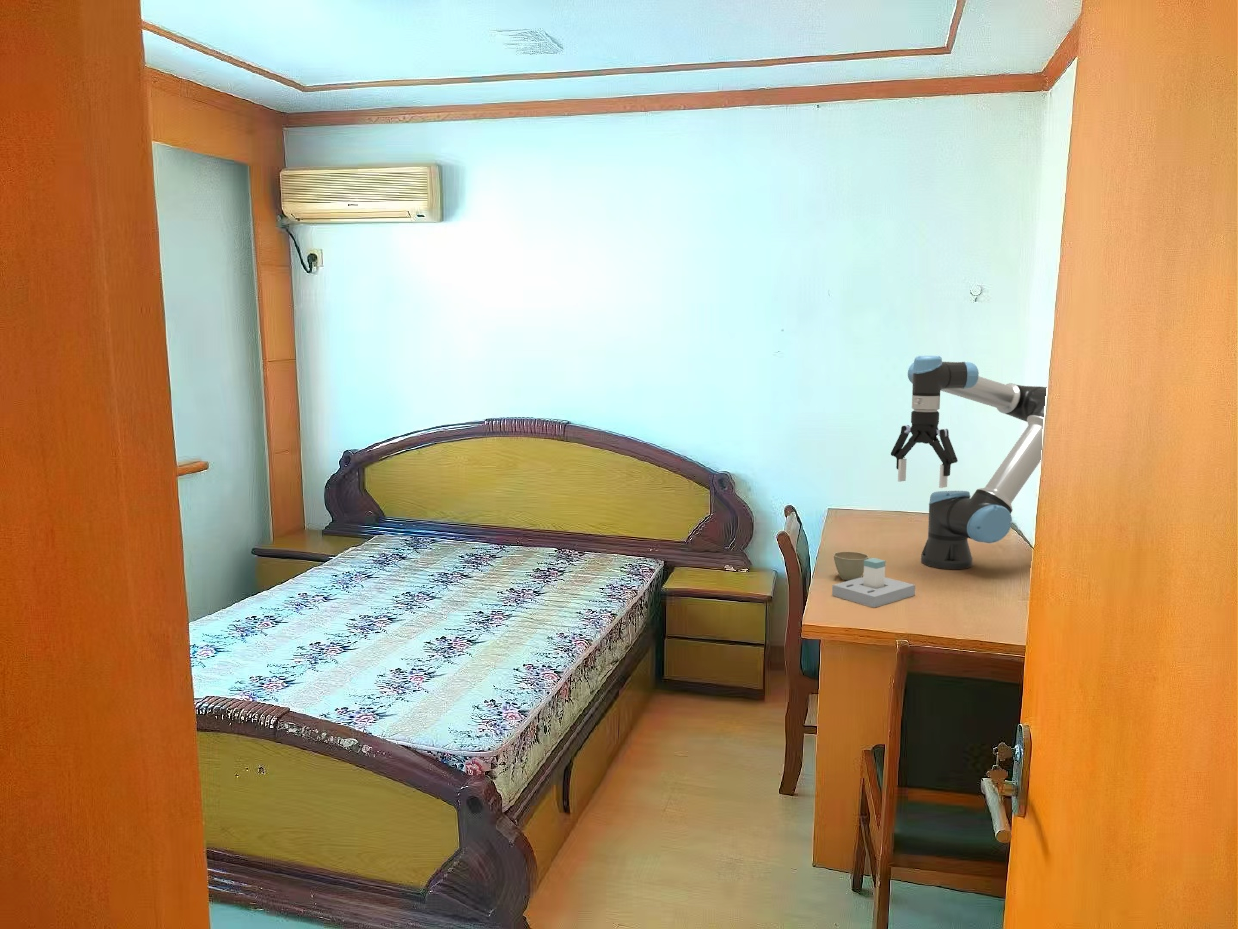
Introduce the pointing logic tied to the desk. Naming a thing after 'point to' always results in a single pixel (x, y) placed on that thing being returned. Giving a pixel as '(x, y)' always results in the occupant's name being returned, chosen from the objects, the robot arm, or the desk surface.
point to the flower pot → (850, 564)
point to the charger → (874, 573)
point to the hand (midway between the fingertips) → (921, 484)
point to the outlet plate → (873, 592)
